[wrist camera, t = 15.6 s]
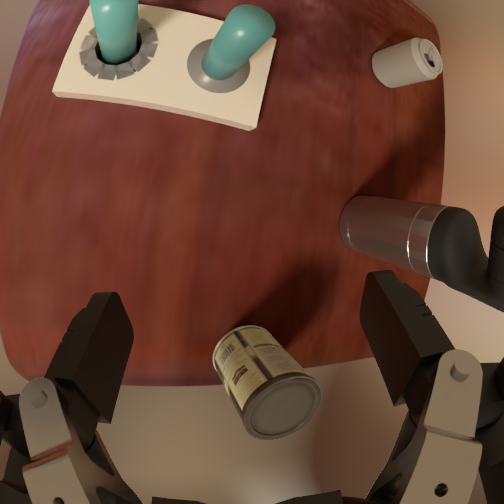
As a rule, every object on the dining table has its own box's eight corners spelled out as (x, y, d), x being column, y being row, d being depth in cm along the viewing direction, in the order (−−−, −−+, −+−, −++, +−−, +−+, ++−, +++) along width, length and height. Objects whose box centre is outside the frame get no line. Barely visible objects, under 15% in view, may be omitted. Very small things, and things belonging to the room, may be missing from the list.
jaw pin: (132, 35, 28) (135, -27, 15) (139, 61, 30) (143, 3, 17) (99, 46, 27) (87, -13, 14) (106, 73, 28) (92, 19, 16)
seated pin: (225, 54, 33) (266, 3, 20) (234, 82, 34) (281, 39, 22) (193, 61, 32) (222, 6, 19) (202, 90, 33) (236, 44, 21)
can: (364, 70, 41) (415, 53, 30) (374, 45, 40) (421, 26, 29) (391, 96, 44) (443, 86, 33) (400, 70, 43) (447, 58, 33)
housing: (94, 9, 25) (92, -1, 22) (269, 45, 35) (276, 38, 32) (57, 96, 27) (51, 90, 24) (249, 131, 37) (256, 127, 34)
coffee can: (267, 379, 47) (308, 433, 34) (207, 380, 43) (236, 444, 30) (282, 325, 45) (333, 373, 32) (218, 322, 41) (254, 379, 28)
